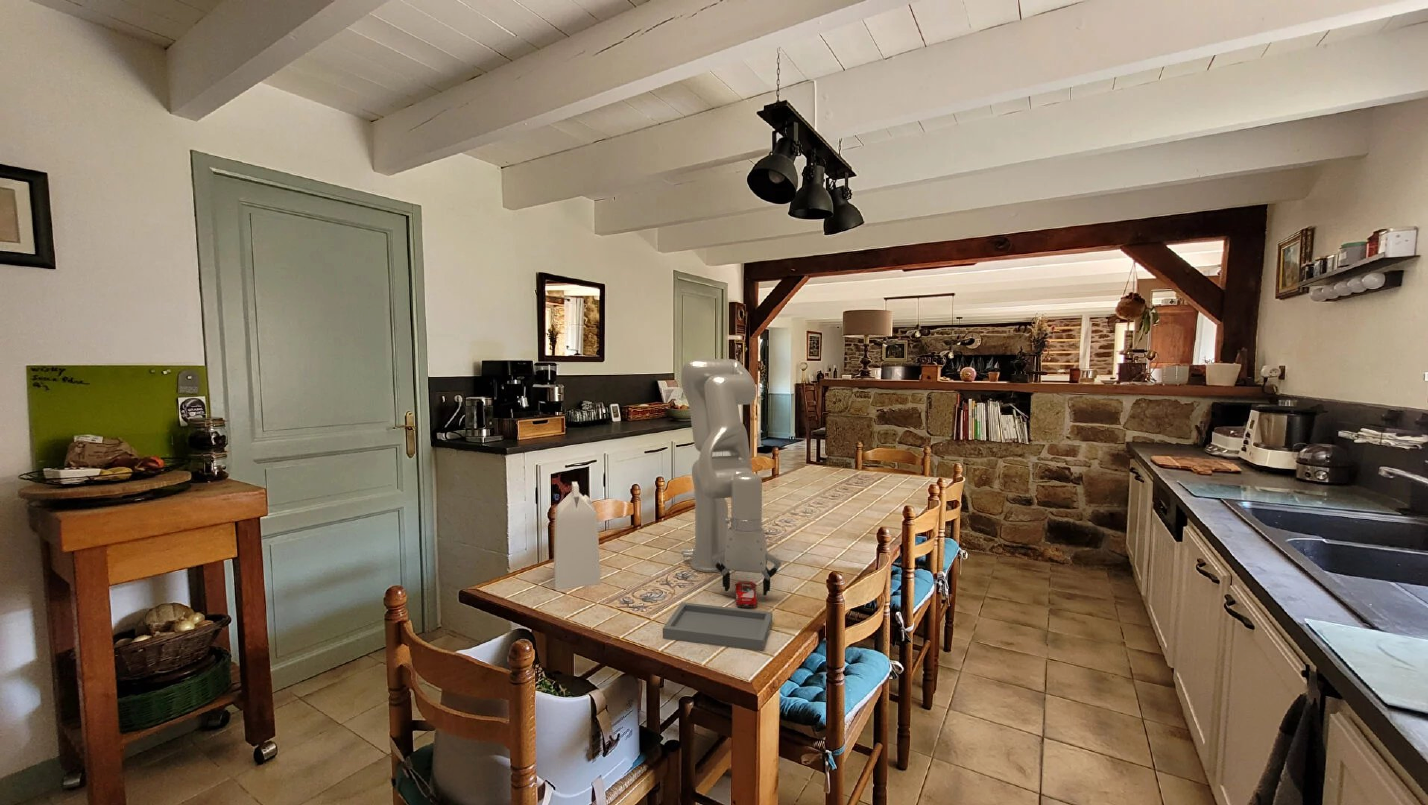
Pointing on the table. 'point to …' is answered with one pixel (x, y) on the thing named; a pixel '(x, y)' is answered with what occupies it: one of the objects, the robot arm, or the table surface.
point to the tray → (719, 626)
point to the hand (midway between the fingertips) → (746, 591)
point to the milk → (576, 542)
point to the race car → (746, 594)
